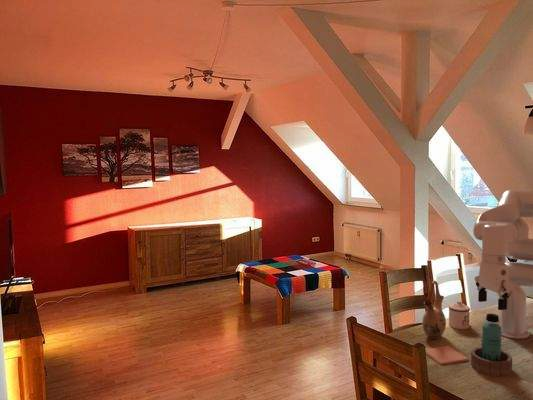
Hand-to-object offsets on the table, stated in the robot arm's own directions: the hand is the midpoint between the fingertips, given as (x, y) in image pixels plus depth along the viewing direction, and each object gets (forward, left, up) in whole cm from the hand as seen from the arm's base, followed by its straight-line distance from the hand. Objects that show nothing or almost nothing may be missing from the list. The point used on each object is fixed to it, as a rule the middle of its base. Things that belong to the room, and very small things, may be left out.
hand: (492, 305), depth 156 cm
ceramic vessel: (+3, -30, -24) cm, 39 cm away
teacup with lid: (-17, -39, -24) cm, 49 cm away
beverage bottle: (0, 0, -24) cm, 24 cm away
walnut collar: (0, 0, -24) cm, 24 cm away
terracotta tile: (+10, -13, -24) cm, 29 cm away
